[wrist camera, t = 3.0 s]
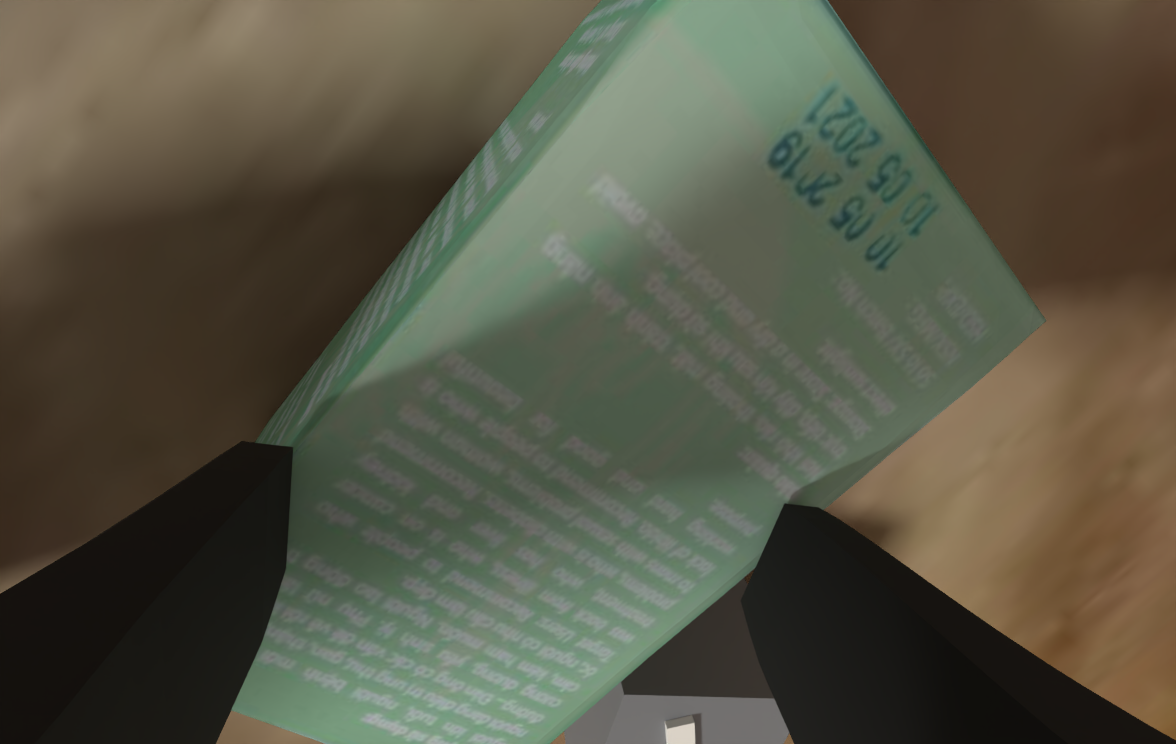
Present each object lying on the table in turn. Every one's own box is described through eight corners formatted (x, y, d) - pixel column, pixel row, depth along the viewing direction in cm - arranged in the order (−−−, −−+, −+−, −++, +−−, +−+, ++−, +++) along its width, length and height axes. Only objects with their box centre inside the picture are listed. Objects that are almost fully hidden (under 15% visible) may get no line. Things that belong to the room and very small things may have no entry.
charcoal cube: (555, 662, 21) (576, 829, 16) (590, 549, 19) (625, 702, 14) (689, 667, 22) (744, 824, 17) (735, 561, 20) (811, 706, 15)
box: (253, 433, 15) (83, 702, 9) (610, -24, 12) (763, -143, 6) (484, 557, 18) (487, 829, 12) (817, 213, 15) (1078, 315, 9)
